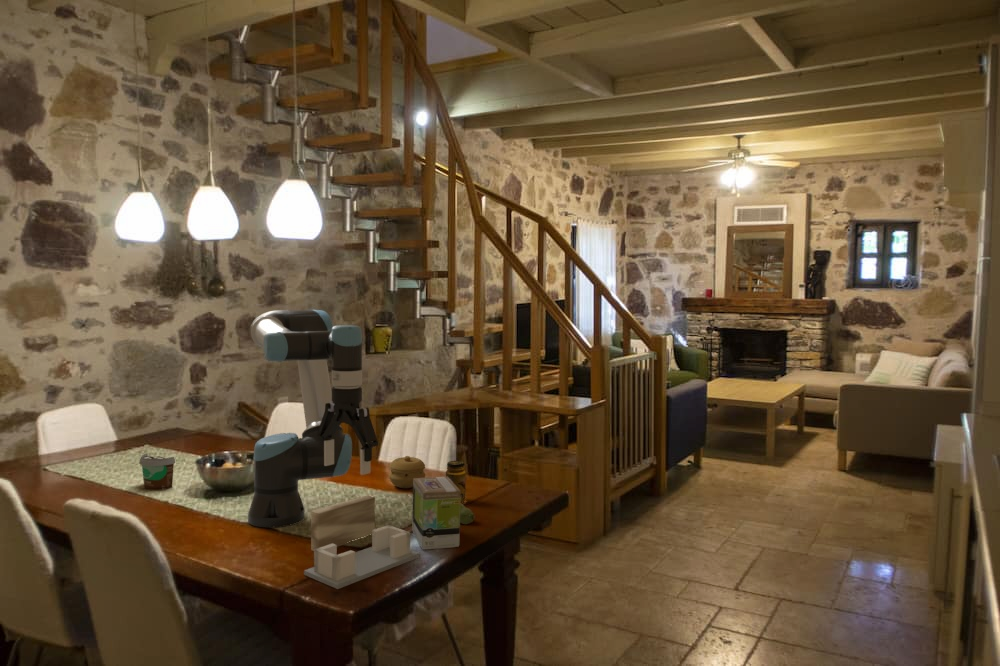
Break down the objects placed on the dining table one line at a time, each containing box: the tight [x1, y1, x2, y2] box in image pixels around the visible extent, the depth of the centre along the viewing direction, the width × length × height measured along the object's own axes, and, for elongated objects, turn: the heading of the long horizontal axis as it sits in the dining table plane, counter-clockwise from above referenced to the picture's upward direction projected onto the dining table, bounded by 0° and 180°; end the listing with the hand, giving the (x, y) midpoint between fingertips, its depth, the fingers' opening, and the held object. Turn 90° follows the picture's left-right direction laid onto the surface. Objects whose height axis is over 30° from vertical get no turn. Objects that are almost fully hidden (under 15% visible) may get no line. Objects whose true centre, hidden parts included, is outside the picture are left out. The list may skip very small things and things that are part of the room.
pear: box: [460, 503, 476, 526], centre depth 209 cm, size 6×5×10 cm
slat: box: [310, 494, 376, 552], centre depth 190 cm, size 3×18×10 cm, turn 141°
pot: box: [388, 455, 426, 489], centre depth 242 cm, size 12×12×10 cm
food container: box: [138, 453, 176, 491], centre depth 236 cm, size 12×6×10 cm, turn 68°
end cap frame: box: [303, 524, 421, 590], centre depth 175 cm, size 12×25×6 cm, turn 141°
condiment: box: [445, 460, 467, 503], centre depth 226 cm, size 7×8×12 cm
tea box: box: [411, 476, 461, 551], centre depth 193 cm, size 15×10×15 cm
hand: (346, 469), depth 190 cm, fingers open, 13 cm apart
